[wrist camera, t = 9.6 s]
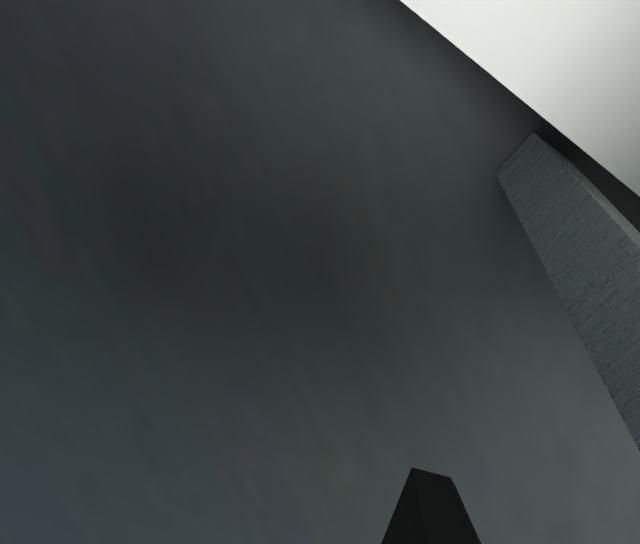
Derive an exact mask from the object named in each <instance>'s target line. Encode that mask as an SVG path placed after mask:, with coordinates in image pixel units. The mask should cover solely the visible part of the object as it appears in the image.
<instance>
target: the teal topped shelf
mask: <svg viewBox="0 0 640 544" xmlns="http://www.w3.org/2000/svg"><path fill="white" fill-rule="evenodd" d="M495 174H496V176H497V178H498V180H499V182H500V183H501V185H502V187H503V189H504V191H505V193H506V195H507V197H508V199H509V201H510V203H511V205H512V207H513V209H514V210H515V212H516V214H517V216H518V218H519V220H520V222H521V224H522V226H523V228H524V230H525V232H526V234H527V235H528V237H529V239H530V241H531V243H532V245H533V247H534V249H535V251H536V253H537V255H538V257H539V259H540V260H541V262H542V264H543V266H544V268H545V270H546V272H547V274H548V276H549V278H550V280H551V282H552V284H553V285H554V287H555V289H556V291H557V293H558V295H559V297H560V299H561V301H562V303H563V305H564V307H565V309H566V310H567V312H568V314H569V316H570V318H571V320H572V322H573V324H574V326H575V328H576V330H577V332H578V334H579V335H580V337H581V339H582V341H583V343H584V345H585V347H586V349H587V351H588V353H589V355H590V357H591V359H592V360H593V362H594V364H595V366H596V368H597V370H598V372H599V374H600V376H601V378H602V380H603V382H604V384H605V385H606V387H607V389H608V391H609V393H610V395H611V397H612V399H613V401H614V403H615V405H616V407H617V409H618V410H619V412H620V414H621V416H622V418H623V420H624V422H625V424H626V426H627V428H628V430H629V432H630V434H631V435H632V437H633V439H634V441H635V443H636V445H637V447H638V449H639V451H640V232H639V231H638V230H637V229H636V228H635V227H634V226H633V225H632V224H631V223H630V222H629V221H628V220H627V219H626V218H625V217H624V216H623V215H622V214H621V213H620V212H619V211H618V210H617V209H616V208H615V207H614V206H613V204H612V203H611V202H610V201H609V200H608V199H607V198H606V197H605V196H604V195H603V194H602V193H601V192H600V191H599V190H598V189H597V188H596V187H595V186H594V185H593V184H592V183H591V182H590V181H589V180H588V179H587V178H586V177H585V176H584V174H583V173H582V172H581V171H580V170H579V169H578V168H577V167H576V166H575V165H574V164H573V163H572V162H570V161H569V160H568V159H567V158H565V157H564V156H563V155H562V154H561V153H559V152H558V151H557V150H556V149H554V148H553V147H552V146H551V145H549V144H548V143H547V142H546V141H545V140H543V139H542V138H541V137H540V136H538V135H537V134H536V133H535V132H532V133H531V134H530V135H529V136H528V137H527V138H526V139H525V140H524V142H523V143H522V144H521V145H520V146H519V147H518V148H517V149H516V150H515V151H514V153H513V154H512V155H511V156H510V157H509V158H508V159H507V160H506V161H505V163H504V164H503V165H502V166H501V167H500V168H499V169H498V170H497V171H496V172H495Z"/></svg>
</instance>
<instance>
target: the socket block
mask: <svg viewBox="0 0 640 544" xmlns="http://www.w3.org/2000/svg"><path fill="white" fill-rule="evenodd" d="M400 1H402V2H403V3H404V4H405V5H407V6H408V7H409V8H410V9H411V10H413V11H414V12H415V13H416V14H418V15H419V16H420V17H421V18H422V19H424V20H425V21H426V22H427V23H429V24H430V25H431V26H432V27H433V28H435V29H436V30H437V31H438V32H440V33H441V34H442V35H443V36H444V37H446V38H447V39H448V40H449V41H450V42H452V43H453V44H454V45H455V46H457V47H458V48H459V49H460V50H461V51H463V52H464V53H465V54H466V55H468V56H469V57H470V58H471V59H472V60H474V61H475V62H476V63H477V64H479V65H480V66H481V67H482V68H483V69H485V70H486V71H487V72H488V73H489V74H491V75H492V76H493V77H494V78H496V79H497V80H498V81H499V82H500V83H502V84H503V85H504V86H505V87H507V88H508V89H509V90H510V91H511V92H513V93H514V94H515V95H516V96H518V97H519V98H520V99H521V100H522V101H524V102H525V103H526V104H527V105H528V106H530V107H531V108H532V109H533V110H535V111H536V112H537V113H538V114H539V115H541V116H542V117H543V118H544V119H546V120H547V121H548V122H549V123H550V124H552V125H553V126H554V127H555V128H557V129H558V130H559V131H560V132H561V133H563V134H564V135H565V136H566V137H567V138H569V139H570V140H571V141H572V142H574V143H575V144H576V145H577V146H578V147H580V148H581V149H582V150H583V151H585V152H586V153H587V154H588V155H589V156H591V157H592V158H593V159H594V160H596V161H597V162H598V163H599V164H600V165H602V166H603V167H604V168H605V169H607V170H608V171H609V172H610V173H611V174H613V175H614V176H615V177H616V178H617V179H619V180H620V181H621V182H622V183H624V184H625V185H626V186H627V187H628V188H630V189H631V190H632V191H633V192H635V193H636V194H637V195H638V196H639V197H640V0H400Z"/></svg>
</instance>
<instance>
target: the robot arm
mask: <svg viewBox="0 0 640 544" xmlns="http://www.w3.org/2000/svg"><path fill="white" fill-rule="evenodd" d="M381 544H481V542H480V540H479V538H478V536H477V534H476V531H475V529H474V527H473V525H472V523H471V520H470V518H469V516H468V514H467V511H466V509H465V507H464V505H463V502H462V500H461V498H460V496H459V493H458V491H457V489H456V487H455V484H454V483H453V481H452V479H451V478H450V477H446V476H443V475H439V474H435V473H431V472H427V471H423V470H419V469H415V468H411V470H410V473H409V475H408V478H407V481H406V483H405V486H404V488H403V491H402V493H401V496H400V498H399V501H398V503H397V506H396V508H395V511H394V513H393V516H392V518H391V521H390V523H389V526H388V528H387V531H386V533H385V536H384V538H383V541H382V543H381Z"/></svg>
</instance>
